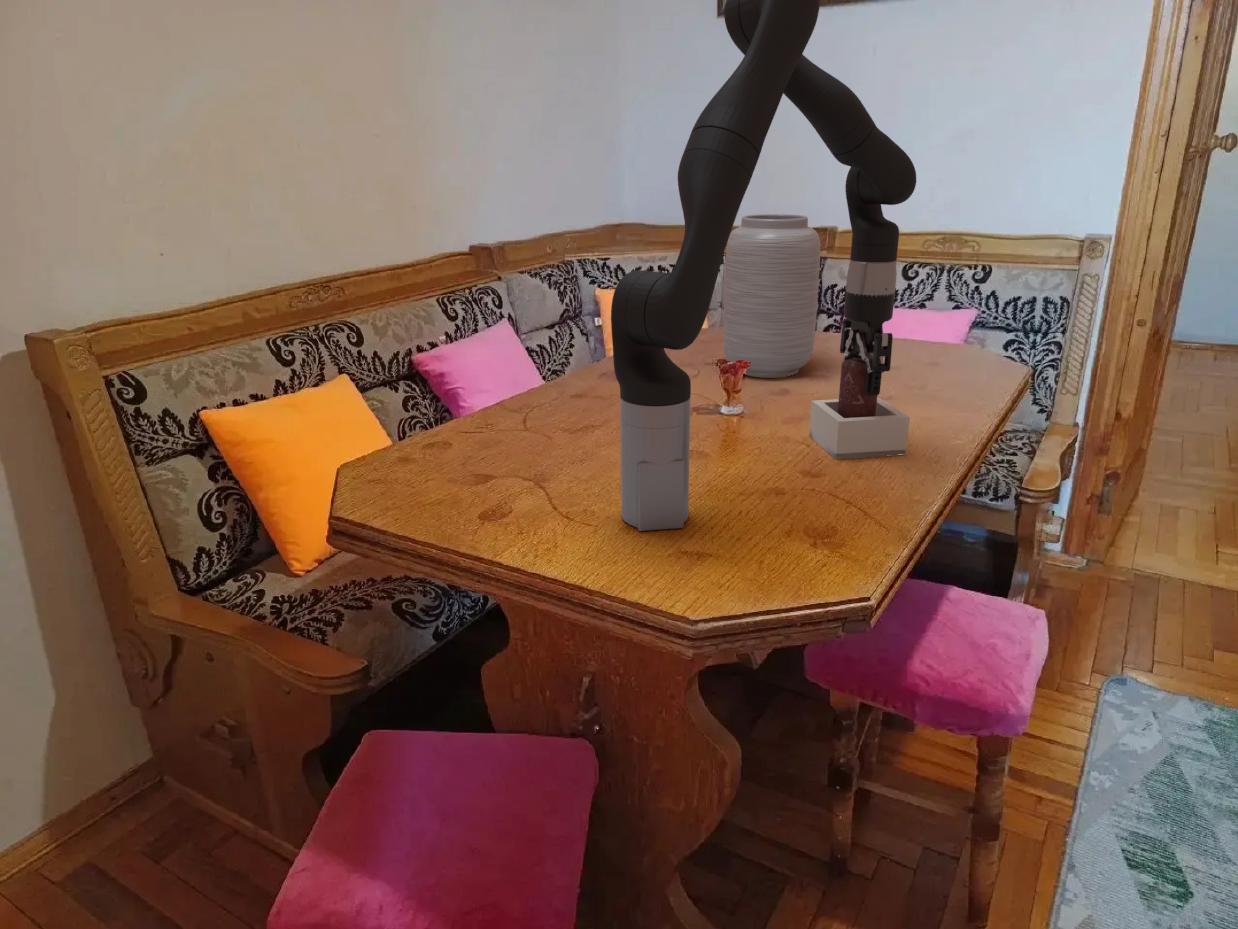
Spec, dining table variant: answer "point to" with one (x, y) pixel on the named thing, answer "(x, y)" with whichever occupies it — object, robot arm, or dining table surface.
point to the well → (858, 431)
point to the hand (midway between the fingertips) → (861, 388)
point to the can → (855, 390)
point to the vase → (771, 294)
